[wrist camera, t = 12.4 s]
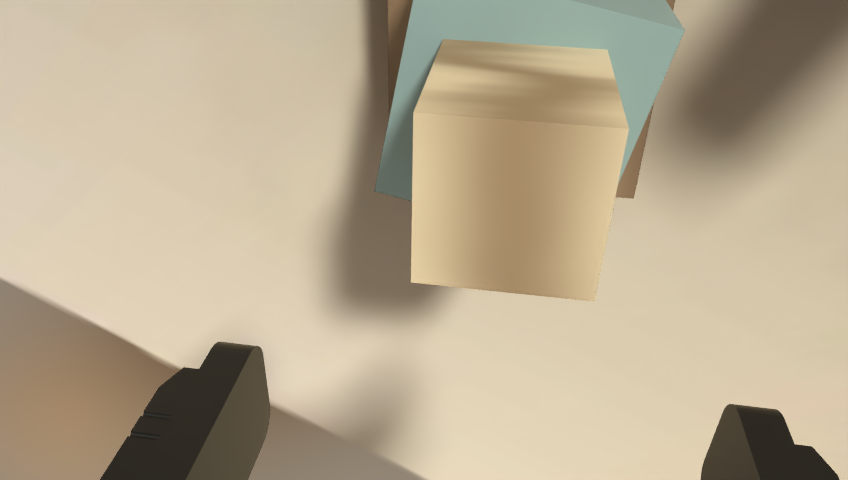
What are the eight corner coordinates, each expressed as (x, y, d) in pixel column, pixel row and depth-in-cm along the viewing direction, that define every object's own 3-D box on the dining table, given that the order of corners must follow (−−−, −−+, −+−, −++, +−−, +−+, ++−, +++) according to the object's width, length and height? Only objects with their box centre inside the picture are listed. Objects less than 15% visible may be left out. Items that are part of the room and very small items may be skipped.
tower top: (394, 144, 28) (374, 191, 24) (438, -62, 23) (420, -39, 20) (584, 194, 28) (590, 248, 24) (663, -3, 23) (684, 30, 20)
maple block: (437, 181, 24) (410, 282, 19) (443, 39, 21) (413, 112, 16) (582, 194, 23) (594, 301, 18) (607, 49, 21) (629, 128, 16)
